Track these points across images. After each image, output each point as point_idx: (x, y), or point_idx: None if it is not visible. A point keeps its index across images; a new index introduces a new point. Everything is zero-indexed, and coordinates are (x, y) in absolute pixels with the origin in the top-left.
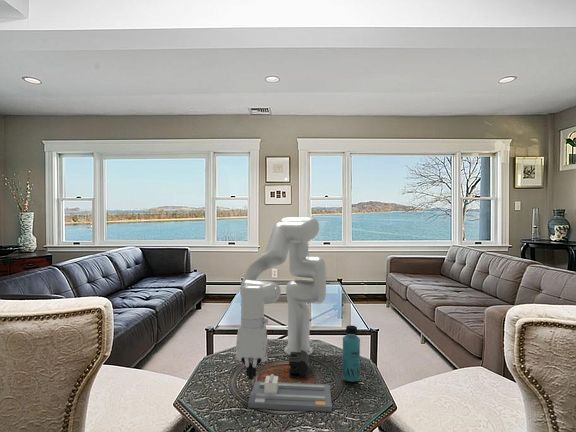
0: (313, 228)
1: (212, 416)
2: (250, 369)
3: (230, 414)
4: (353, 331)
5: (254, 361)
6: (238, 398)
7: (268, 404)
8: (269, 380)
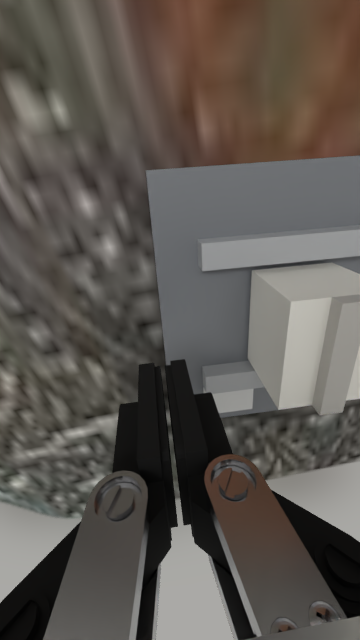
0: None
1: (44, 480)
2: (175, 506)
3: (111, 457)
4: None
5: (252, 631)
6: (92, 348)
7: (270, 408)
8: (323, 407)
